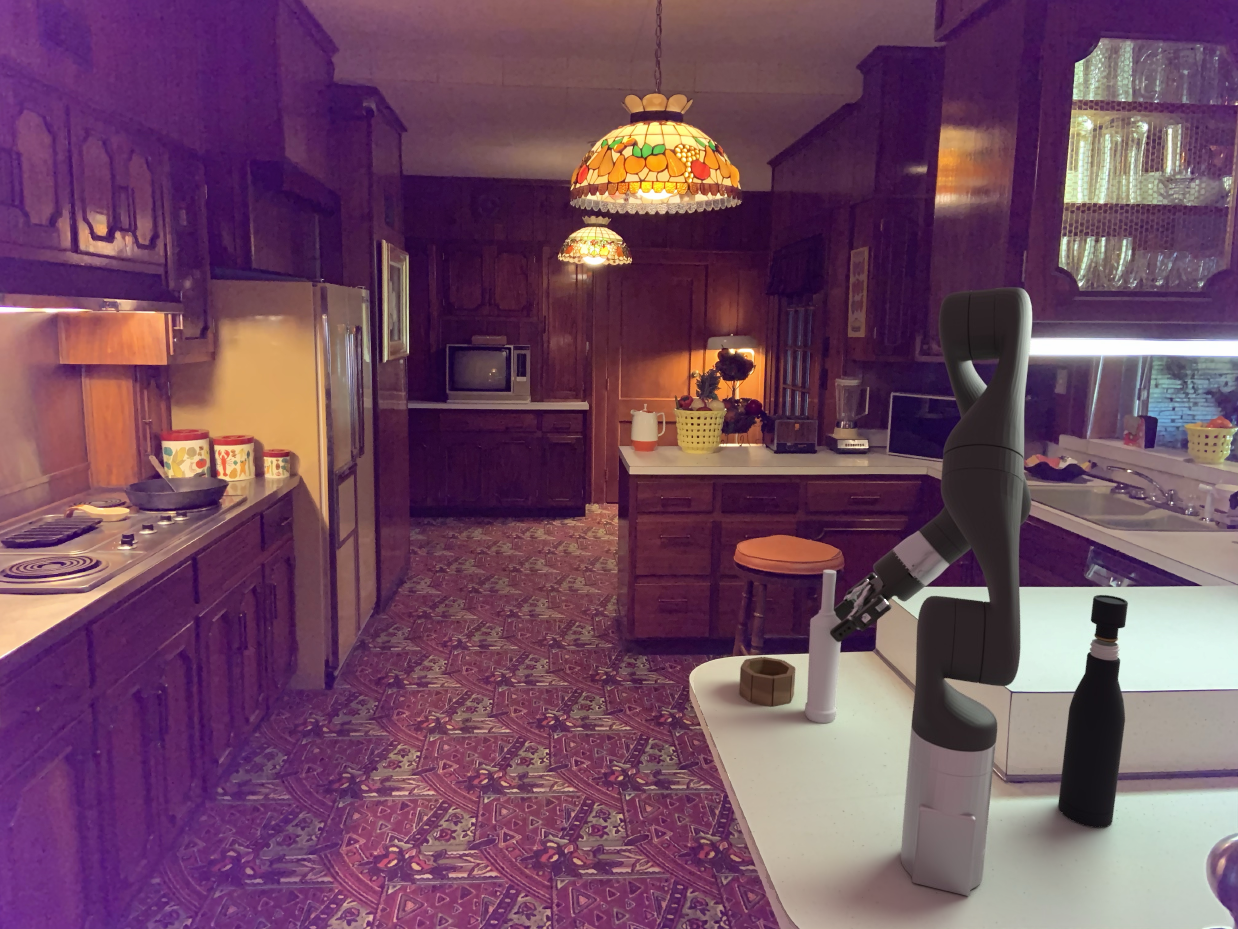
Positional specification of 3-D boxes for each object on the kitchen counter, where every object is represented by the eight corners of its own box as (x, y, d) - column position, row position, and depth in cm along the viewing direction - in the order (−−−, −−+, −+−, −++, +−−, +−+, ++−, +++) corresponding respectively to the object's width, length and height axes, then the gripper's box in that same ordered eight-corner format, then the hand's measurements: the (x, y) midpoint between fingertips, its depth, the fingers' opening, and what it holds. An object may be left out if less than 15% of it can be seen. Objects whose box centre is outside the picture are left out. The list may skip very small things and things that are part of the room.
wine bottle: (1047, 806, 114) (1071, 594, 109) (1079, 796, 117) (1103, 589, 112) (1090, 832, 108) (1118, 610, 103) (1123, 821, 111) (1151, 603, 106)
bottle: (833, 710, 142) (843, 567, 138) (838, 724, 137) (848, 576, 133) (802, 708, 142) (811, 566, 138) (806, 722, 137) (815, 575, 133)
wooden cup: (787, 709, 142) (789, 681, 141) (735, 700, 145) (736, 672, 144) (796, 688, 150) (798, 662, 149) (747, 680, 153) (748, 654, 152)
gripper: (889, 537, 140) (815, 598, 144) (900, 560, 126) (817, 626, 130) (920, 570, 140) (845, 630, 144) (934, 597, 126) (850, 661, 130)
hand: (832, 628), depth 137 cm, fingers open, 8 cm apart
